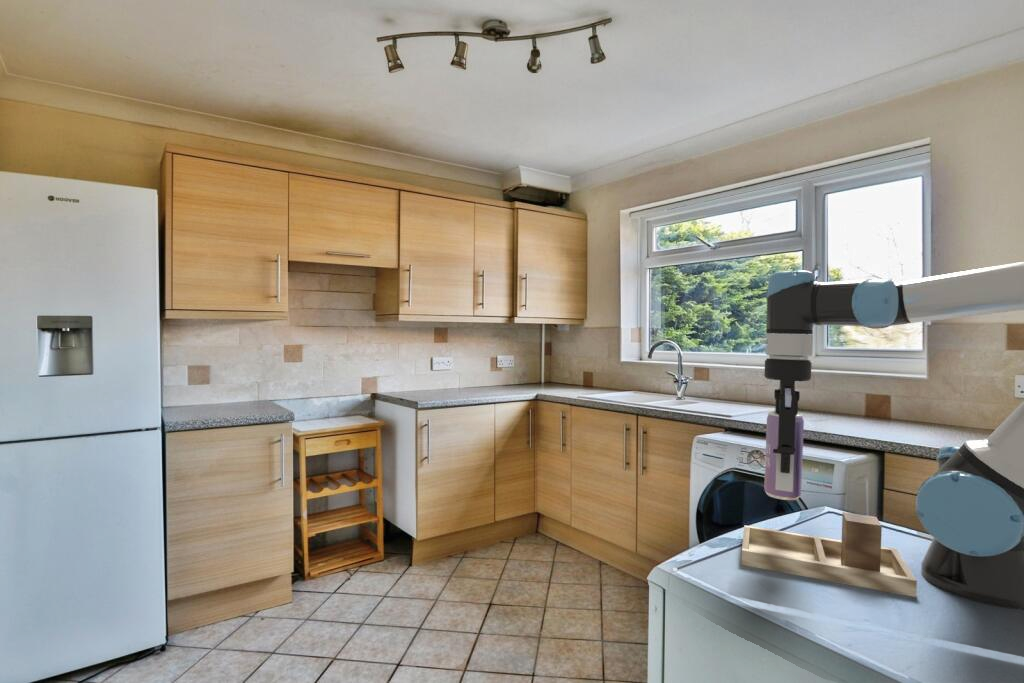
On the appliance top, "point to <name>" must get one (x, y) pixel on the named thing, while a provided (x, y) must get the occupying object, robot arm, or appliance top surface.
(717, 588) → the appliance top surface
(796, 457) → the beverage can
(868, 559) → the walnut block
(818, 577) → the rack
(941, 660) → the appliance top surface
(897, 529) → the appliance top surface
